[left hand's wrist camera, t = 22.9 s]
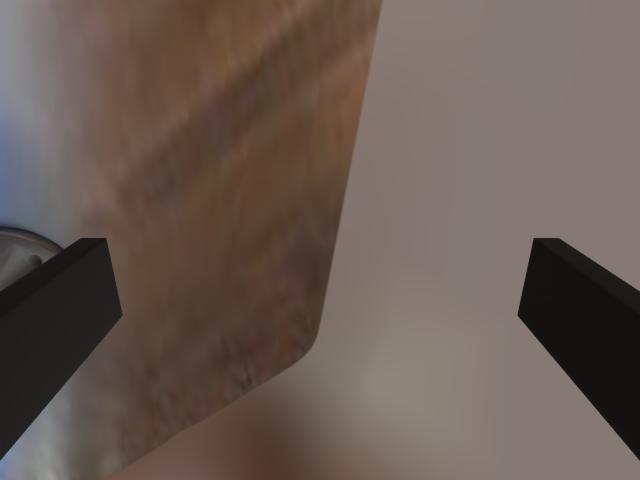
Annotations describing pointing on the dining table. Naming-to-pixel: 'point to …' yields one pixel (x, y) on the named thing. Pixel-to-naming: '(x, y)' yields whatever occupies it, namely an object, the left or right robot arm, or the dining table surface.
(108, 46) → the dining table surface
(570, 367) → the left robot arm
